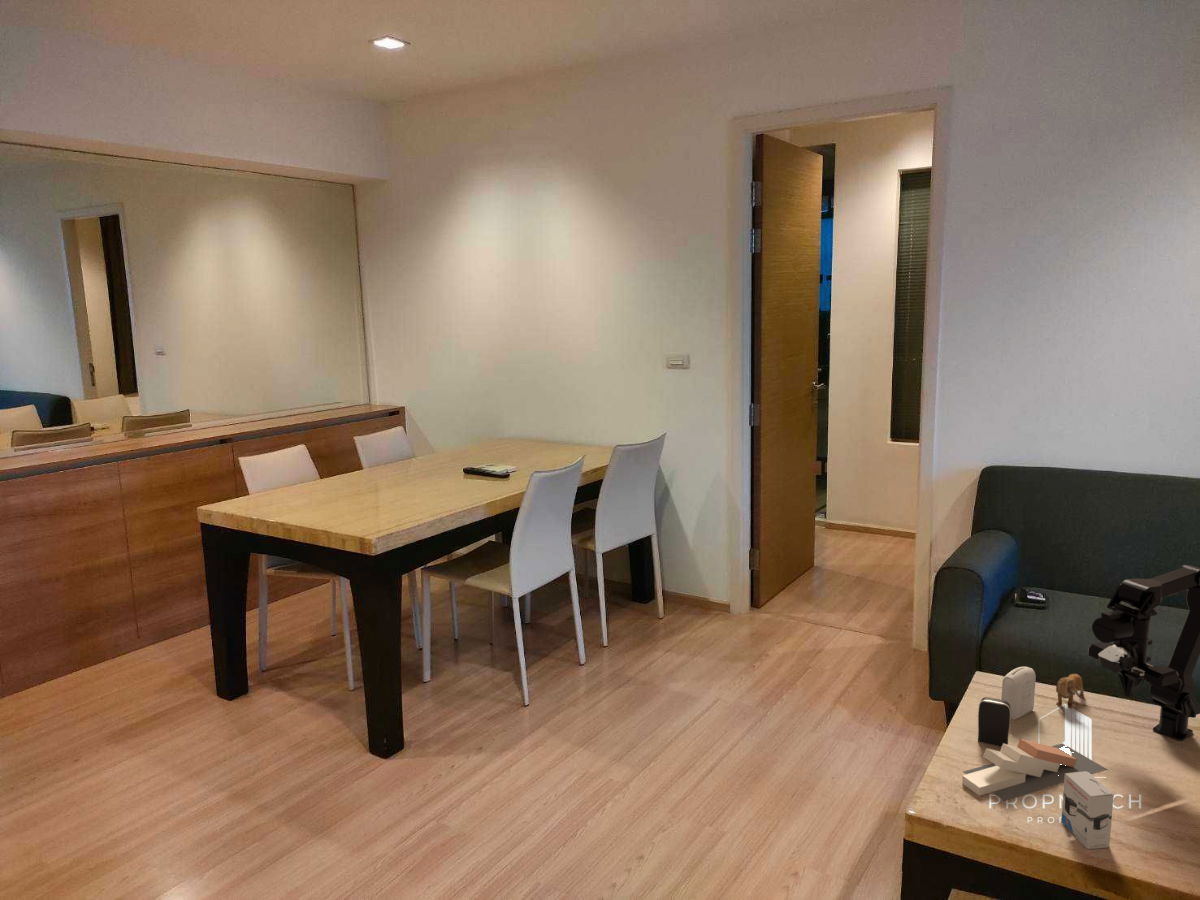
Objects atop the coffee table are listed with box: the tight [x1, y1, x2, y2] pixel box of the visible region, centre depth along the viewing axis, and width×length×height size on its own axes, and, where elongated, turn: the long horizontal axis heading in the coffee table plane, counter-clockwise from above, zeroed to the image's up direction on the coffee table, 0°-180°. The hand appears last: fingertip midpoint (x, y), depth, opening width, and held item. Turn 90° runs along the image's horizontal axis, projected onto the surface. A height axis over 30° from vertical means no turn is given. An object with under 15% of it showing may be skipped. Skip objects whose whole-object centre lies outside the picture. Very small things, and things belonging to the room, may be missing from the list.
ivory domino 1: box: [961, 766, 1026, 797], centre depth 186 cm, size 2×5×13 cm
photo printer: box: [1000, 666, 1037, 720], centre depth 215 cm, size 10×4×12 cm, turn 123°
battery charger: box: [977, 696, 1011, 747], centre depth 201 cm, size 7×4×11 cm, turn 60°
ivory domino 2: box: [982, 748, 1044, 777], centre depth 187 cm, size 2×5×13 cm
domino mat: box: [963, 742, 1108, 802], centre depth 190 cm, size 30×12×1 cm, turn 110°
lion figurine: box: [1055, 673, 1085, 709], centre depth 220 cm, size 15×5×9 cm, turn 141°
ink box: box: [1061, 771, 1115, 850], centre depth 167 cm, size 8×5×12 cm, turn 5°
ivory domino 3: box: [999, 744, 1060, 772], centre depth 188 cm, size 2×5×13 cm
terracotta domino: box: [1016, 738, 1077, 767], centre depth 190 cm, size 2×5×13 cm
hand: (1128, 696), depth 196 cm, fingers closed
